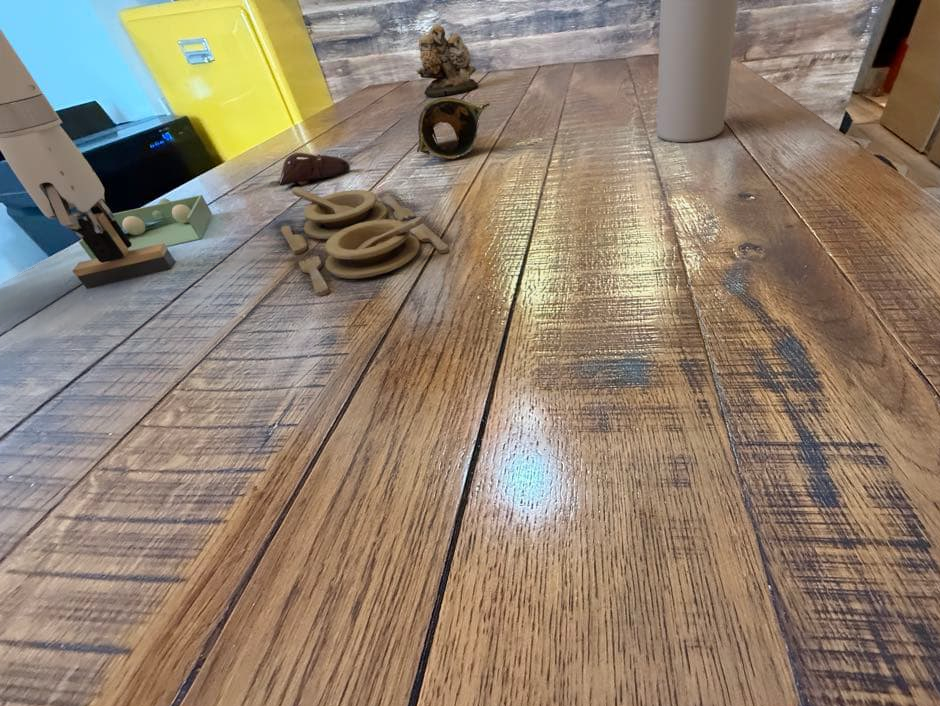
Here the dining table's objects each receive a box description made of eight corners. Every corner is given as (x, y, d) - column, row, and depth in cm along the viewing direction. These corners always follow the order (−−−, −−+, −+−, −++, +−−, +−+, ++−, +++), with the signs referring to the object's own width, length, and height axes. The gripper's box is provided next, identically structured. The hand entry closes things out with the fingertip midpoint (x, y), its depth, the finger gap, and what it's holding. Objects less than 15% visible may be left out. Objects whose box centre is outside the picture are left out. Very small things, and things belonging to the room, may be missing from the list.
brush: (86, 288, 76) (40, 230, 70) (92, 280, 79) (48, 223, 73) (171, 268, 78) (133, 210, 72) (175, 261, 81) (139, 204, 75)
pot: (465, 88, 112) (473, 68, 96) (493, 138, 117) (505, 127, 100) (400, 131, 112) (397, 119, 96) (430, 180, 117) (432, 176, 101)
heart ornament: (288, 199, 106) (297, 155, 108) (346, 203, 106) (353, 159, 108) (273, 178, 99) (282, 132, 102) (334, 182, 99) (343, 136, 102)
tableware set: (281, 231, 85) (264, 195, 81) (392, 197, 91) (381, 162, 87) (317, 301, 65) (297, 257, 61) (457, 252, 71) (447, 209, 67)
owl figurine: (428, 101, 152) (411, 31, 141) (418, 95, 161) (402, 29, 149) (483, 88, 157) (472, 19, 145) (471, 83, 165) (460, 18, 154)
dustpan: (201, 238, 87) (189, 217, 84) (94, 263, 84) (78, 242, 81) (218, 202, 101) (207, 183, 98) (126, 222, 98) (113, 203, 96)
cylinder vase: (647, 131, 103) (650, -30, 87) (706, 120, 104) (721, -41, 87) (670, 147, 94) (679, -30, 77) (734, 135, 95) (757, -42, 78)
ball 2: (183, 225, 91) (172, 206, 89) (175, 226, 93) (164, 208, 91) (200, 219, 93) (190, 201, 92) (192, 220, 95) (182, 203, 93)
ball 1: (149, 238, 92) (130, 234, 89) (136, 235, 93) (117, 231, 90) (150, 219, 91) (131, 216, 88) (137, 216, 92) (118, 213, 89)
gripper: (15, 111, 69) (106, 239, 82) (-49, 138, 57) (70, 284, 70) (75, 100, 71) (156, 228, 83) (25, 124, 59) (129, 270, 71)
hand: (116, 252), depth 76 cm, fingers open, 3 cm apart
